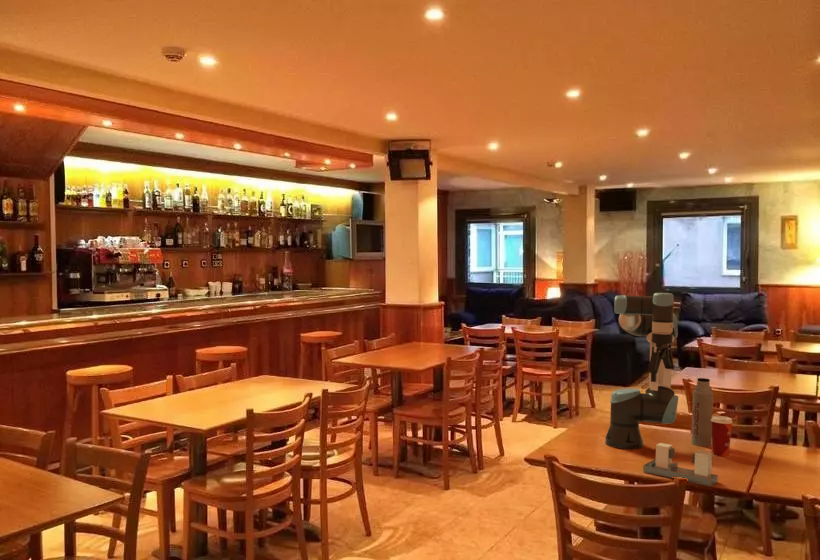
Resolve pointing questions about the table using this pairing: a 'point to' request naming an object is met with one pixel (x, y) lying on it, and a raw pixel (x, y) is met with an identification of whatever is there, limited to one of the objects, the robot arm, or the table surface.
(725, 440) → the coffee cup
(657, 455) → the cream rectangular block
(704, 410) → the thermos bottle
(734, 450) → the table surface
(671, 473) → the rail
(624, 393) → the robot arm
